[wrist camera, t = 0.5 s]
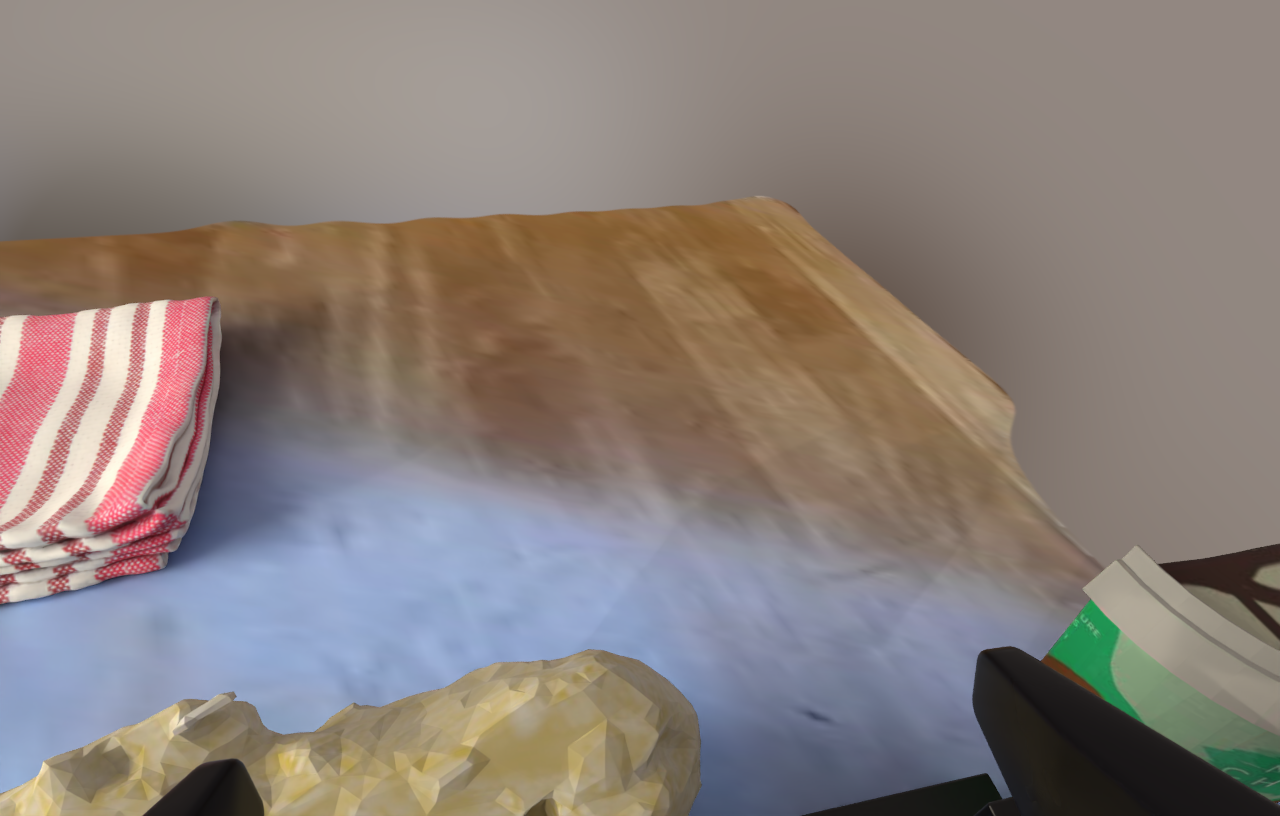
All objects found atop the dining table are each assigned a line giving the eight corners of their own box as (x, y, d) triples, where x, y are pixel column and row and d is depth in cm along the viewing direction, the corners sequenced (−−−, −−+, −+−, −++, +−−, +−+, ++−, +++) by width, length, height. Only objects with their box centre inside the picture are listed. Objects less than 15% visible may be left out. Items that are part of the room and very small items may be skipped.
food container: (1079, 909, 21) (1325, 776, 15) (969, 713, 25) (1120, 546, 19) (1373, 836, 24) (1691, 697, 17) (1226, 671, 28) (1435, 512, 22)
